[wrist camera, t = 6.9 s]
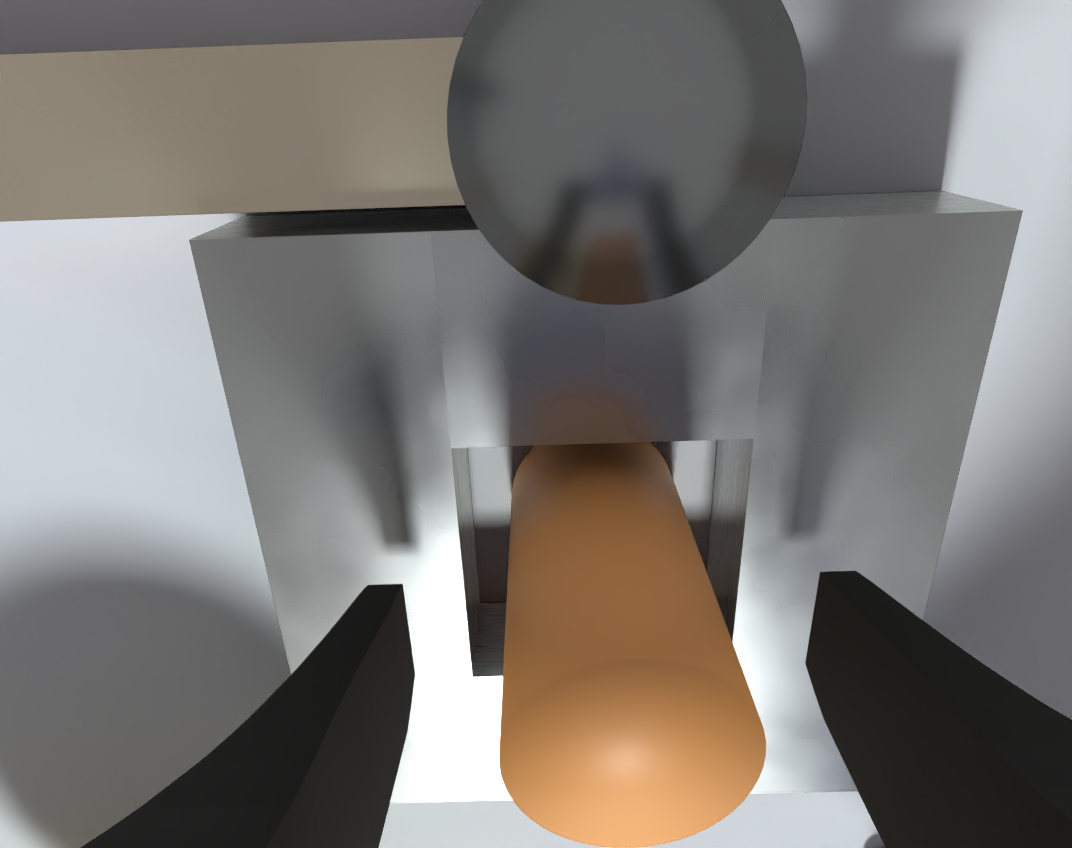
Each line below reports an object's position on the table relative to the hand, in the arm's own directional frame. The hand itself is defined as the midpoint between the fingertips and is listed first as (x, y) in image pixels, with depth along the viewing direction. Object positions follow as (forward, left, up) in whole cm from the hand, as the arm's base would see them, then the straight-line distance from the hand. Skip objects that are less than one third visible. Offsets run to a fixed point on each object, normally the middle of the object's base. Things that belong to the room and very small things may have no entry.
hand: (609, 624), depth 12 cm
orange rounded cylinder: (0, 0, -4) cm, 4 cm away
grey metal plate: (+2, +4, -4) cm, 6 cm away
